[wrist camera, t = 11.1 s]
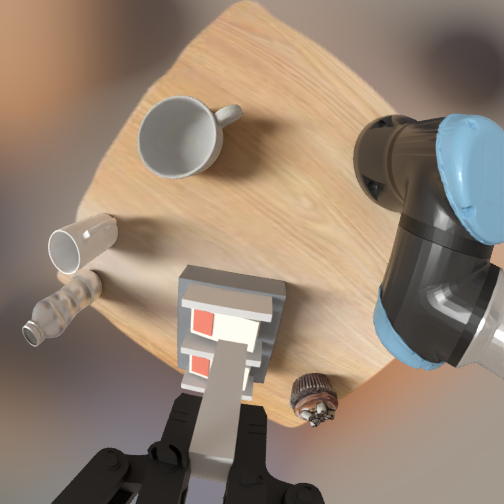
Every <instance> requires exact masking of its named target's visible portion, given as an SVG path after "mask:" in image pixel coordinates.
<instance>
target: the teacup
mask: <svg viewBox="0 0 504 504" xmlns="http://www.w3.org/2000/svg"><path fill="white" fill-rule="evenodd" d="M242 115H243V111H242V109H241V107H240V106H239V105H230V106H226V107H224V108H222V109H220V110H218V111H217V112H215V113H214V114H213V113H212V112H211V111H210V110H209V108H208V107H207V106H206V105H205V104H204V103H202V102H201V101H200V100H198V99H196V98H193V97H190V96H182V95H181V96H173V97H169V98H166V99H164V100H162V101H160V102H158V103H157V104H156V105H154V106H153V107H152V108H151V109H150V110H149V111H148V113H147V114H146V115H145V117H144V119H143V120H142V123H141V125H140V128H139V132H138V150H139V155H140V157H141V159H142V161H143V163H144V164H145V166H146V167H147V168H148V169H149V170H150V171H151V172H153V173H154V174H156V175H158V176H161V177H163V178H168V179H180V178H185V177H188V176H192V175H196V174H199V173H201V172H203V171H205V170H206V169H208V168H209V167H210V166H211V165H212V164H213V163H214V162H215V161H216V159H217V158H218V156H219V154H220V152H221V149H222V146H223V131H222V129H223V128H224V127H226V126H227V125H229V124H231V123H233V122H234V121H236V120H238V119H239V118H240V117H241V116H242Z"/></svg>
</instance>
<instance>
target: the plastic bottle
mask: <svg viewBox="0 0 504 504" xmlns="http://www.w3.org/2000/svg"><path fill="white" fill-rule="evenodd" d="M101 292H102V283H101V280H100V278H99V277H98V275H97V274H96V273H94V272H93V271H90V270H82V271H80V272H78V273H76V274H75V275H74V276H73V277H72V279H71V280H70V281H69V282H68V283H67V284H66V285H65V286H64V287H63V288H62V289H60V290H59V291H57V292H56V293H54V294H53V295H51V296H49V297H47V298H45V299H43V300H41V301H40V302H38V303H37V304H36V306H35V308H34V310H33V315H32V320H30V321H28V322H27V324H26V325H25V326H24V327H23V329H22V332H23V335H24V336H25V338H26V340H27V341H28V342H29V343H30V344H31V345H33V346H35V347H36V346H38V345H39V344H40V343H41V342H43V341H44V339H45V338H53V337H57V336H59V335H61V334H62V332H63V331H64V330H65V328H66V327H67V326H68V324H69V323H70V321H71V320H72V319H73V318H74V317H75V316H76V314H77V313H78V312H79V311H81V310H82V309H83V308H85V307H86V306H87V305H89V304H91V303H93V302H94V301H96V300H97V299H98V298H99V296H100V295H101Z"/></svg>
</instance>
